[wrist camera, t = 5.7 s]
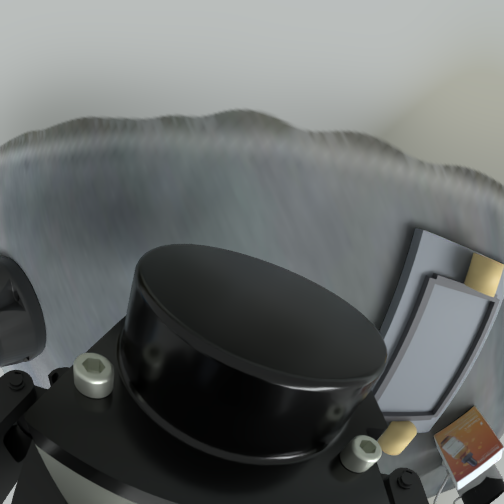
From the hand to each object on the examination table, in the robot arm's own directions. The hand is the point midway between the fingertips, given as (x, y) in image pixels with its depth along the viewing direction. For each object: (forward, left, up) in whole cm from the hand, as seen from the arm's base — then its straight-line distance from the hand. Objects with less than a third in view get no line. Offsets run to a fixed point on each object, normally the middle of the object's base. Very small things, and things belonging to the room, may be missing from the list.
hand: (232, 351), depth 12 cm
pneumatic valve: (0, 0, -1) cm, 1 cm away
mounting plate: (+20, -3, -11) cm, 23 cm away
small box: (+36, -16, -11) cm, 41 cm away
